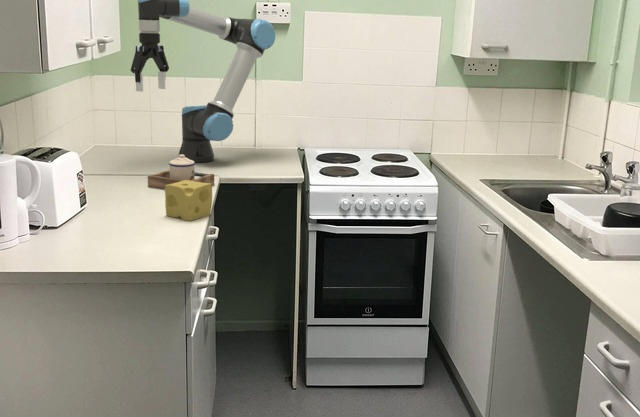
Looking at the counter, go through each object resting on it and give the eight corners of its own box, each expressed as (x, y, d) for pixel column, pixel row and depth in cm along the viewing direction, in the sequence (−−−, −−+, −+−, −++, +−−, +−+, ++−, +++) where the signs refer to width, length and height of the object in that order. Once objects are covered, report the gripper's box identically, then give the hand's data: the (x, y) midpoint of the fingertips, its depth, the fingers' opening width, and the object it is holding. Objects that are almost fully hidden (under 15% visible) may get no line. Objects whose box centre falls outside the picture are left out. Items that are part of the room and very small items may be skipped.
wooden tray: (173, 179, 262) (173, 168, 261) (214, 184, 255) (214, 174, 254) (147, 187, 249) (147, 176, 248) (190, 193, 242) (190, 182, 241)
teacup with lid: (195, 189, 248) (195, 157, 245) (169, 189, 246) (168, 157, 243) (194, 181, 259) (193, 150, 256) (169, 182, 257) (168, 151, 254)
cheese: (190, 221, 208) (189, 189, 206) (163, 215, 214) (162, 184, 211) (213, 214, 217) (212, 183, 214) (186, 209, 223) (186, 178, 220)
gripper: (161, 32, 272) (162, 87, 278) (119, 31, 250) (121, 91, 256) (177, 32, 269) (178, 88, 275) (136, 32, 247) (138, 93, 253)
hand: (151, 90), depth 265 cm, fingers open, 13 cm apart
